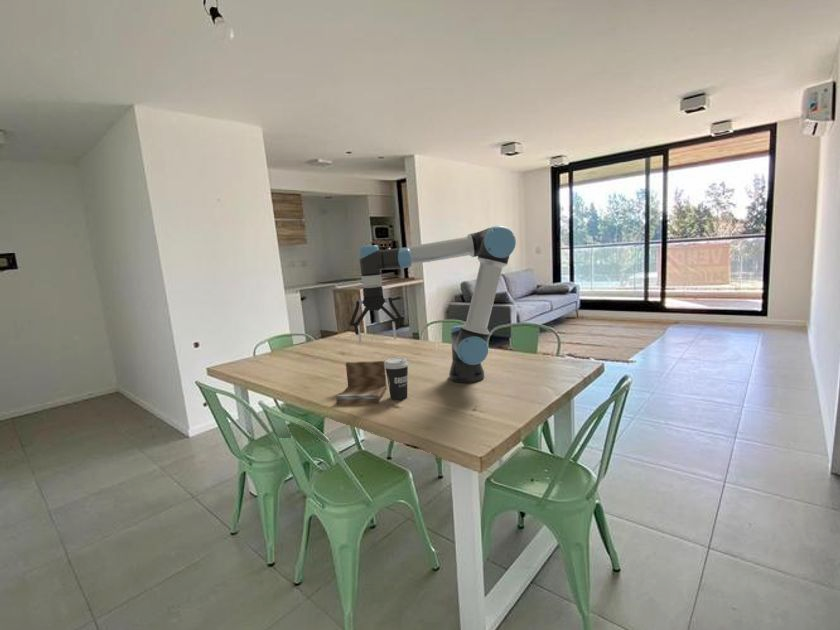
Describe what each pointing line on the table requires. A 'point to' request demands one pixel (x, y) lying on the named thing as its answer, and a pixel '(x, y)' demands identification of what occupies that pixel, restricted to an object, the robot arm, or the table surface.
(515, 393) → the table surface
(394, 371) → the coffee cup
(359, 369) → the shelf
